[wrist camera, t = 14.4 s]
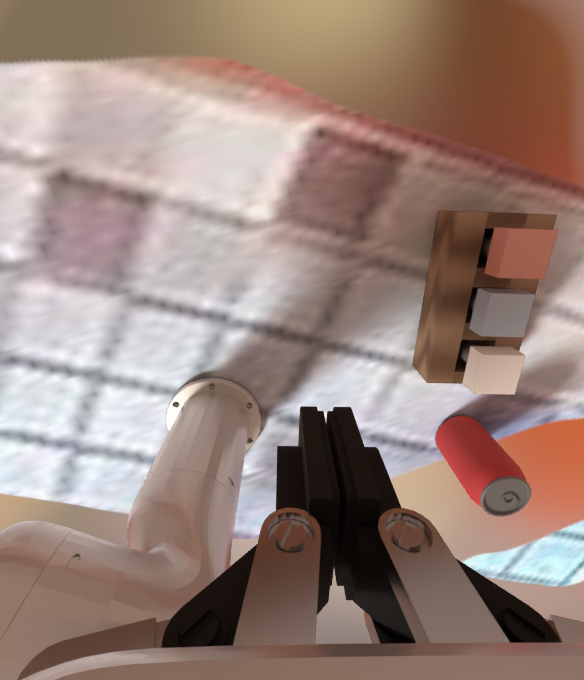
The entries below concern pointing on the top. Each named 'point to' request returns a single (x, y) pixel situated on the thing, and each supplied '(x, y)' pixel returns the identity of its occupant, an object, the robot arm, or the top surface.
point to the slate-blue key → (500, 311)
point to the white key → (491, 368)
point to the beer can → (483, 466)
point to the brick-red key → (518, 252)
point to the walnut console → (462, 290)
